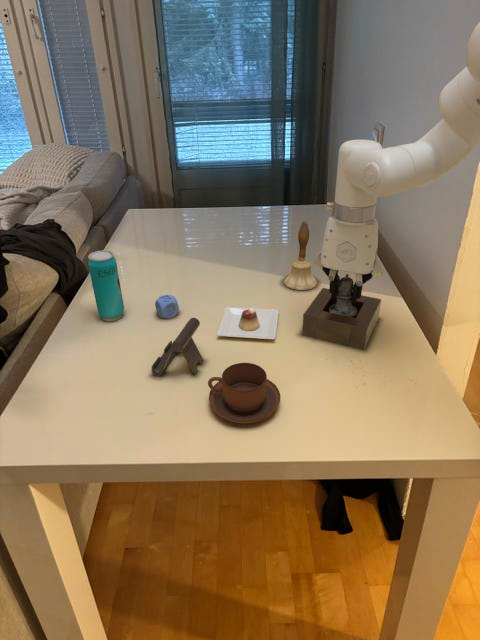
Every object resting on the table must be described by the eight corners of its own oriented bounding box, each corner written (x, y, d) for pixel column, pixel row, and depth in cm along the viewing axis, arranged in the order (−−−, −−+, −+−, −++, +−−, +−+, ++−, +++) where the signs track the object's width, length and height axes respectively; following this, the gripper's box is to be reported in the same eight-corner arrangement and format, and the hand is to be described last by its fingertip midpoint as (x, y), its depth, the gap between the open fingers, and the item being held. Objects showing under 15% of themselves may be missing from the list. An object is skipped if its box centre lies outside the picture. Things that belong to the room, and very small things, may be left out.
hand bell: (298, 273, 123) (301, 214, 114) (323, 282, 118) (328, 221, 109) (277, 283, 118) (278, 222, 110) (302, 294, 113) (306, 231, 104)
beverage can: (128, 318, 104) (118, 256, 97) (103, 325, 102) (90, 262, 94) (120, 307, 109) (110, 247, 101) (96, 314, 106) (83, 253, 98)
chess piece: (360, 330, 97) (367, 278, 91) (333, 333, 96) (339, 281, 90) (348, 316, 102) (354, 266, 96) (323, 319, 101) (327, 269, 95)
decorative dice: (172, 308, 108) (170, 292, 106) (179, 315, 105) (178, 299, 103) (156, 313, 106) (154, 297, 104) (163, 320, 103) (161, 304, 101)
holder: (378, 319, 102) (381, 299, 100) (364, 349, 92) (367, 328, 90) (321, 306, 107) (322, 287, 105) (302, 335, 97) (303, 314, 95)
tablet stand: (171, 349, 94) (166, 313, 89) (207, 354, 92) (205, 318, 88) (152, 375, 87) (146, 337, 82) (191, 382, 85) (188, 344, 80)
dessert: (216, 339, 96) (215, 320, 94) (226, 310, 106) (225, 292, 104) (274, 343, 95) (275, 323, 92) (278, 313, 105) (279, 295, 102)
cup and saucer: (213, 434, 73) (211, 404, 70) (206, 386, 84) (204, 358, 80) (287, 424, 75) (289, 395, 72) (271, 378, 85) (272, 351, 82)
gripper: (304, 211, 87) (300, 298, 96) (396, 223, 80) (381, 315, 90) (317, 200, 93) (312, 283, 102) (403, 211, 86) (389, 298, 96)
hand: (344, 297), depth 96 cm, fingers closed on chess piece, 3 cm apart
